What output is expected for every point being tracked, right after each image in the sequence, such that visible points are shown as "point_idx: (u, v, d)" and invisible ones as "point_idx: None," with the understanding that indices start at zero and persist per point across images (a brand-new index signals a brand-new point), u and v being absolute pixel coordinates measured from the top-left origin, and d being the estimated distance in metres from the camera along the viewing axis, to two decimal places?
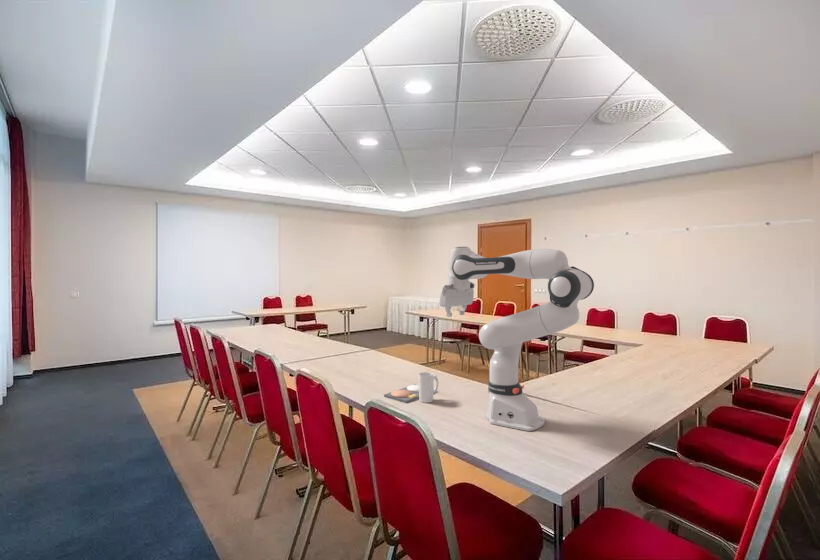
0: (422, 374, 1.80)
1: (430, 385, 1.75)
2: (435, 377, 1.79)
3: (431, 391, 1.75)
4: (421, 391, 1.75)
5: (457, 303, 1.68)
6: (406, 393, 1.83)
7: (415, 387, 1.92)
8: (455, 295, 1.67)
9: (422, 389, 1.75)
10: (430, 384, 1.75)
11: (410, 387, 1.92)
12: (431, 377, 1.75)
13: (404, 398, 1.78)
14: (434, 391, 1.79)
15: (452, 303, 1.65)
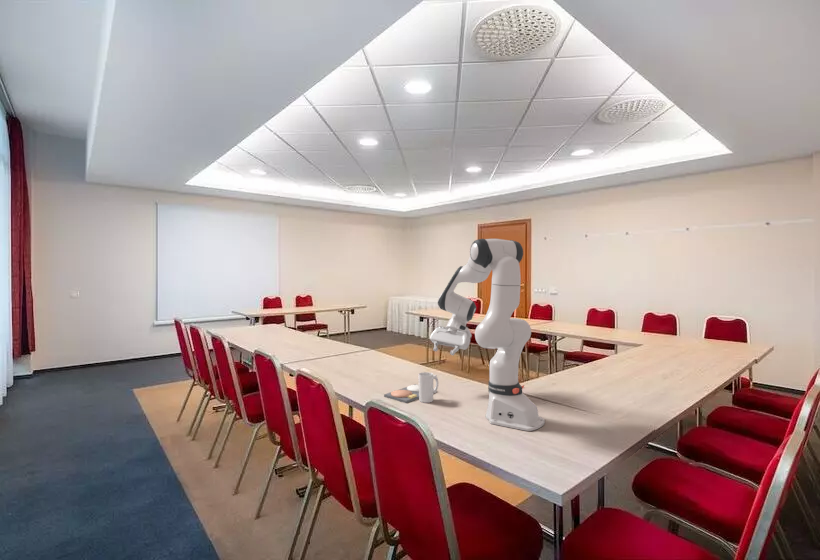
0: (422, 374, 1.80)
1: (430, 385, 1.75)
2: (435, 377, 1.79)
3: (431, 391, 1.75)
4: (421, 391, 1.75)
5: (443, 339, 1.89)
6: (406, 393, 1.83)
7: (415, 387, 1.92)
8: (444, 333, 1.92)
9: (422, 389, 1.75)
10: (430, 384, 1.75)
11: (410, 387, 1.92)
12: (431, 377, 1.75)
13: (404, 398, 1.78)
14: (434, 391, 1.79)
15: (437, 337, 1.92)
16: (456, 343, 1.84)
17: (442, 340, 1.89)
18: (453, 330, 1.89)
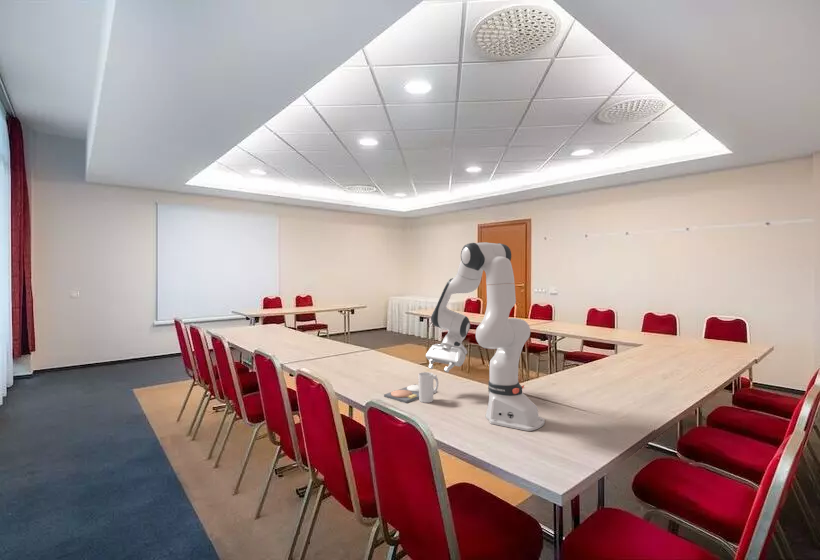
0: (422, 374, 1.80)
1: (430, 385, 1.75)
2: (435, 377, 1.79)
3: (431, 391, 1.75)
4: (421, 391, 1.75)
5: (438, 356, 1.86)
6: (406, 393, 1.83)
7: (415, 387, 1.92)
8: (439, 350, 1.89)
9: (422, 389, 1.75)
10: (430, 384, 1.75)
11: (410, 387, 1.92)
12: (431, 377, 1.75)
13: (404, 398, 1.78)
14: (434, 391, 1.79)
15: (432, 355, 1.89)
16: (450, 360, 1.81)
17: (437, 357, 1.86)
18: (448, 347, 1.86)
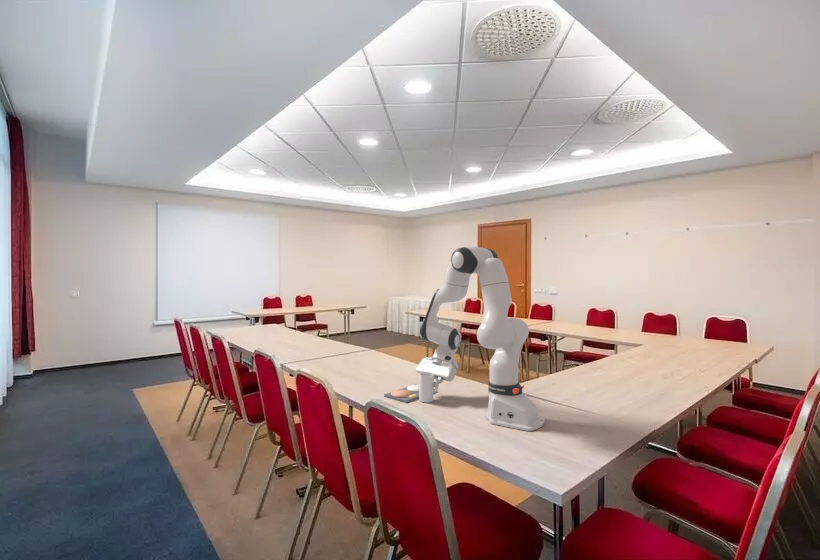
0: (423, 374, 1.80)
1: (431, 385, 1.74)
2: (436, 377, 1.79)
3: (431, 391, 1.75)
4: (421, 391, 1.75)
5: (429, 371, 1.81)
6: (406, 393, 1.83)
7: (415, 387, 1.92)
8: (430, 364, 1.84)
9: (422, 389, 1.74)
10: (430, 384, 1.74)
11: (410, 387, 1.92)
12: (432, 377, 1.75)
13: (404, 398, 1.78)
14: (434, 391, 1.79)
15: (422, 369, 1.84)
16: (441, 375, 1.76)
17: None
18: (439, 361, 1.81)
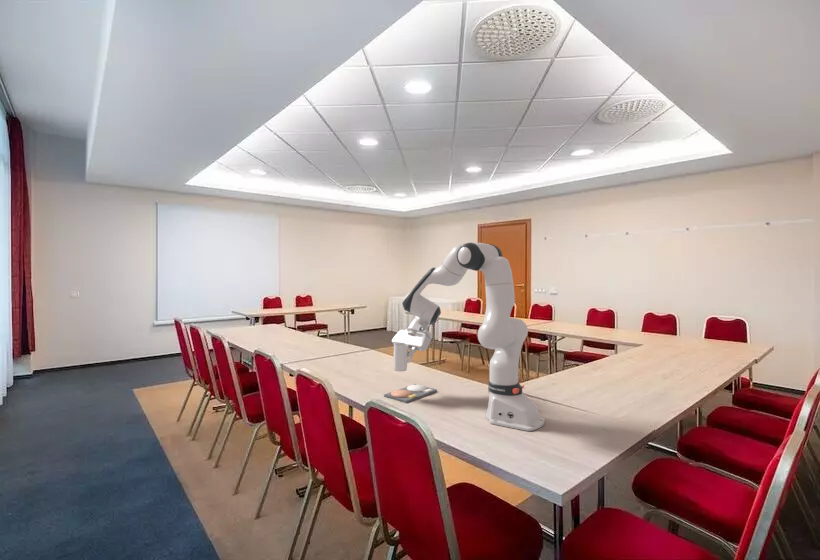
0: (398, 344, 1.84)
1: (404, 355, 1.79)
2: (410, 348, 1.84)
3: (405, 361, 1.80)
4: (395, 360, 1.80)
5: (403, 341, 1.86)
6: (406, 393, 1.83)
7: (415, 387, 1.92)
8: (405, 335, 1.89)
9: (396, 358, 1.79)
10: (404, 354, 1.79)
11: (410, 387, 1.92)
12: (406, 347, 1.79)
13: (404, 398, 1.78)
14: (408, 361, 1.84)
15: (398, 340, 1.89)
16: (414, 345, 1.81)
17: None
18: (413, 332, 1.86)
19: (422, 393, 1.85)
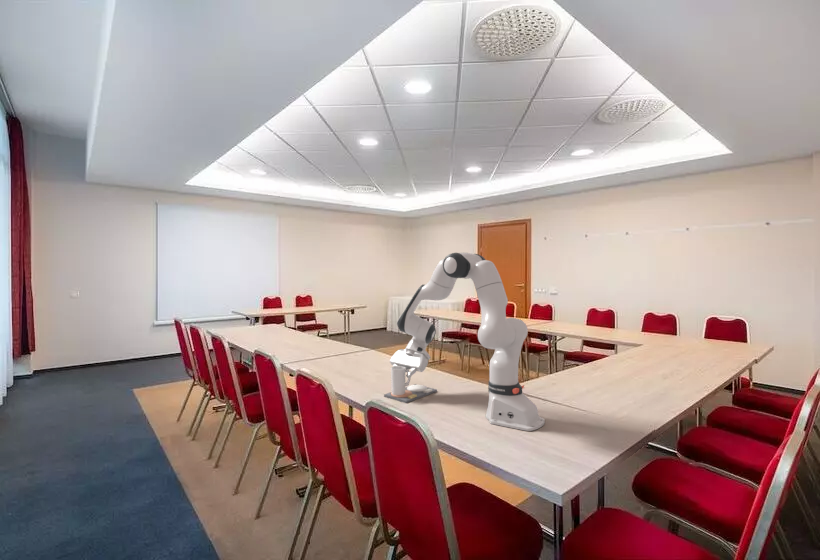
0: (395, 368, 1.86)
1: (402, 378, 1.80)
2: (407, 371, 1.85)
3: (403, 384, 1.81)
4: (393, 384, 1.81)
5: (401, 362, 1.86)
6: (406, 393, 1.83)
7: (415, 387, 1.92)
8: (403, 355, 1.89)
9: (394, 382, 1.80)
10: (402, 377, 1.80)
11: (410, 387, 1.92)
12: (403, 370, 1.81)
13: (404, 398, 1.78)
14: (406, 384, 1.85)
15: (396, 360, 1.89)
16: (412, 365, 1.81)
17: (400, 363, 1.86)
18: (411, 352, 1.86)
19: (422, 393, 1.85)
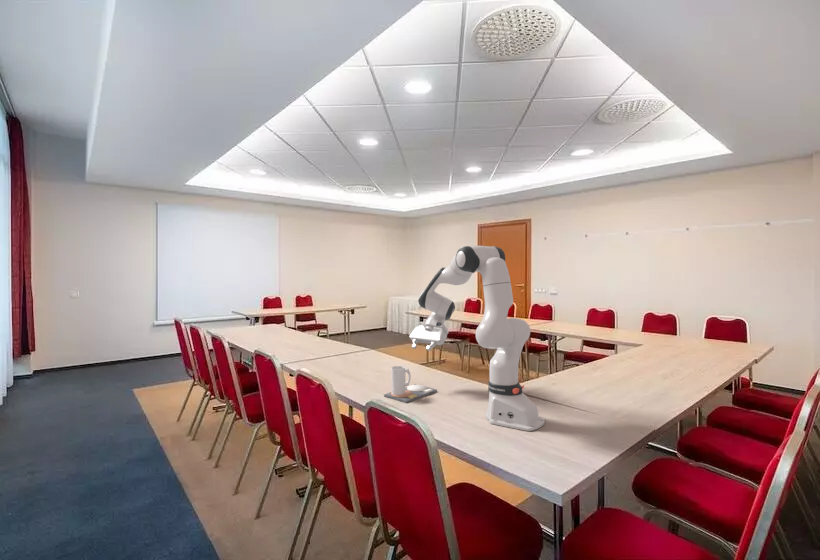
0: (395, 368, 1.86)
1: (402, 378, 1.80)
2: (407, 371, 1.85)
3: (403, 384, 1.81)
4: (393, 384, 1.81)
5: (421, 337, 1.95)
6: (406, 393, 1.83)
7: (415, 387, 1.92)
8: (422, 331, 1.98)
9: (394, 382, 1.80)
10: (402, 377, 1.80)
11: (410, 387, 1.92)
12: (403, 370, 1.81)
13: (404, 398, 1.78)
14: (406, 384, 1.85)
15: (415, 335, 1.98)
16: (432, 339, 1.90)
17: (420, 337, 1.95)
18: (430, 327, 1.95)
19: (422, 393, 1.85)
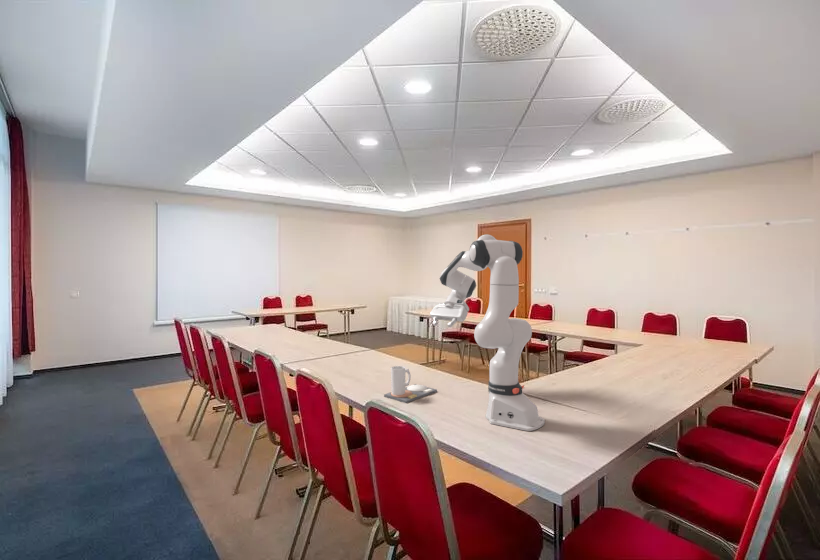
0: (395, 368, 1.86)
1: (402, 378, 1.80)
2: (407, 371, 1.85)
3: (403, 384, 1.81)
4: (393, 384, 1.81)
5: (442, 314, 1.98)
6: (406, 393, 1.83)
7: (415, 387, 1.92)
8: (442, 308, 2.01)
9: (394, 382, 1.80)
10: (402, 377, 1.80)
11: (410, 387, 1.92)
12: (403, 370, 1.81)
13: (404, 398, 1.78)
14: (406, 384, 1.85)
15: (436, 312, 2.00)
16: (453, 316, 1.92)
17: (441, 314, 1.98)
18: (451, 304, 1.98)
19: (422, 393, 1.85)
